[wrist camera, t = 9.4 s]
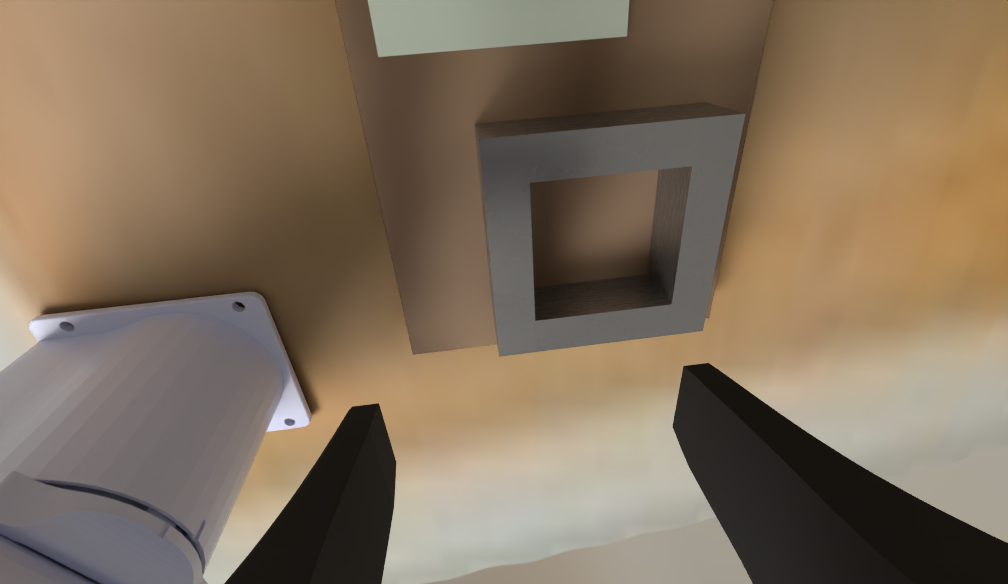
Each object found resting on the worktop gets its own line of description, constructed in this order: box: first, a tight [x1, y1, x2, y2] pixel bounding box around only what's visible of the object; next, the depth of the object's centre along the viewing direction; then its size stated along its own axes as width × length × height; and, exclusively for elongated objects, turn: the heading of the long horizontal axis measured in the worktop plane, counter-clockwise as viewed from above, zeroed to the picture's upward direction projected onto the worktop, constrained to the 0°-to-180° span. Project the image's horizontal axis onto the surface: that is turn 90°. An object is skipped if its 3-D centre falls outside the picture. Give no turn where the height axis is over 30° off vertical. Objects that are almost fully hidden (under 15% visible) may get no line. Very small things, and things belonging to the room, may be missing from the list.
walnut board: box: [335, 0, 773, 355], centre depth 16 cm, size 14×21×2 cm, turn 4°
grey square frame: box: [474, 102, 745, 356], centre depth 17 cm, size 8×8×2 cm
